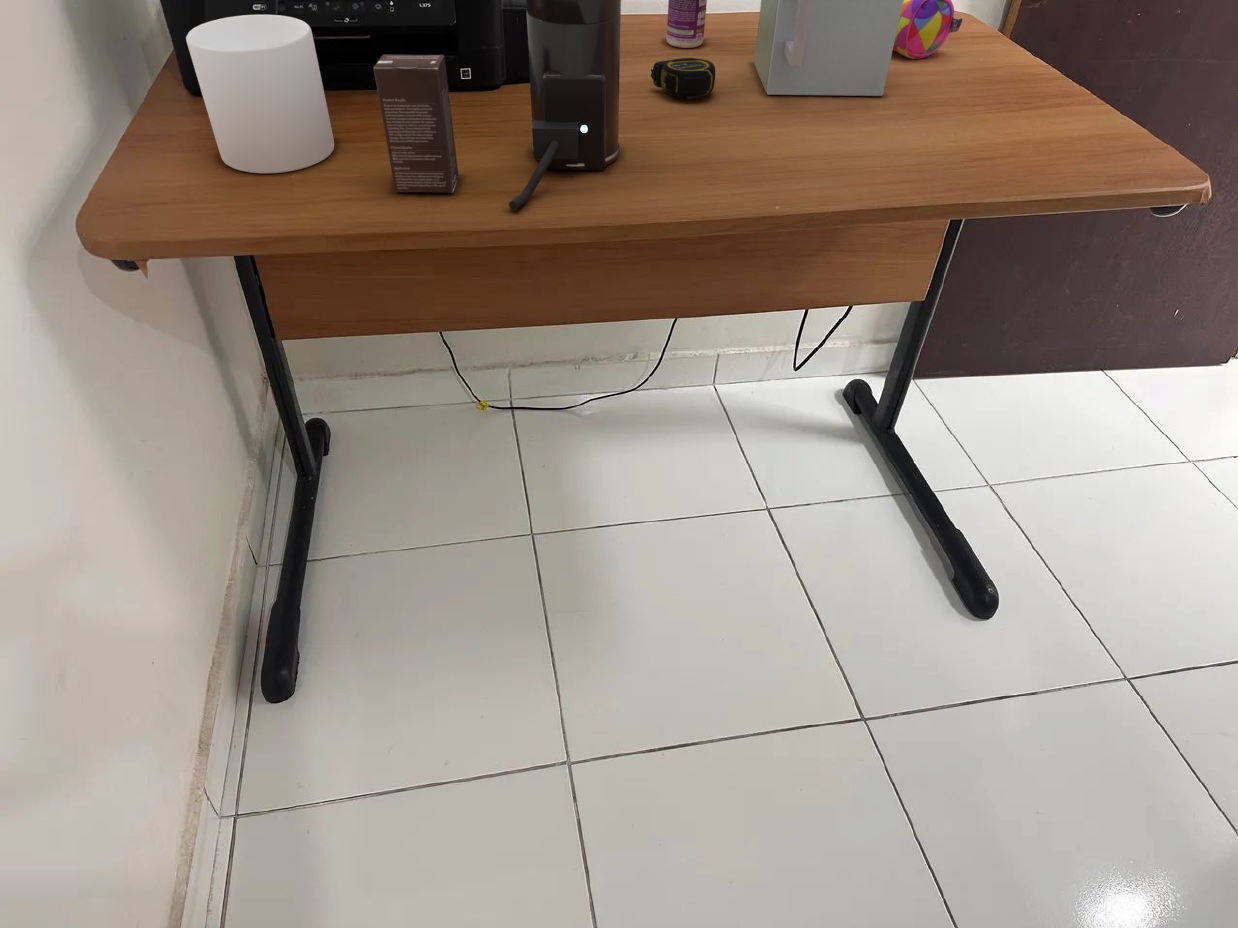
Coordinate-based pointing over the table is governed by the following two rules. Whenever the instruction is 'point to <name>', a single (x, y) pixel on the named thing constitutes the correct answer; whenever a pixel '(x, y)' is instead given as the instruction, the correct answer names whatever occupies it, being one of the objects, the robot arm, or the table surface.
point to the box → (417, 122)
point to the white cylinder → (262, 92)
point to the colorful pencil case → (924, 27)
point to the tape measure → (684, 77)
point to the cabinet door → (832, 47)
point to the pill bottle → (686, 23)
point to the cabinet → (765, 39)
